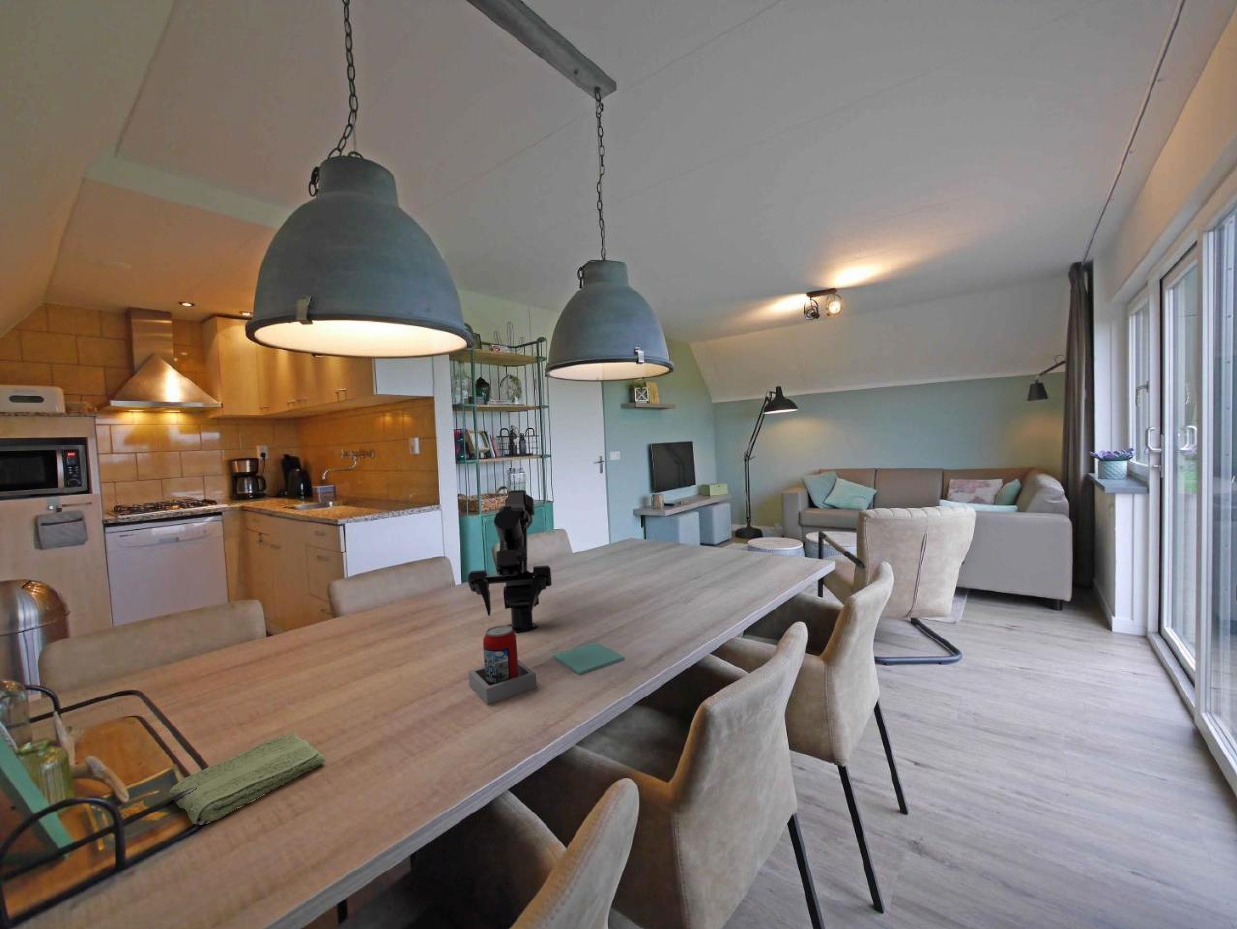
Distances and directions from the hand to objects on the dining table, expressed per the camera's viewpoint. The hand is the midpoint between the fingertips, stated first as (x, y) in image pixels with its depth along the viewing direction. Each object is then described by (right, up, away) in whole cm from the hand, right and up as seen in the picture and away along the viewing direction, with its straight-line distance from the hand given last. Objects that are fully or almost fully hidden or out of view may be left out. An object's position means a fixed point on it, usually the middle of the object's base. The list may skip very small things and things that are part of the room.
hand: (509, 613), depth 116 cm
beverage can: (0, -13, -8) cm, 15 cm away
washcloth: (-33, -17, -35) cm, 51 cm away
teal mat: (+17, -12, +4) cm, 21 cm away
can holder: (0, -13, -8) cm, 15 cm away
